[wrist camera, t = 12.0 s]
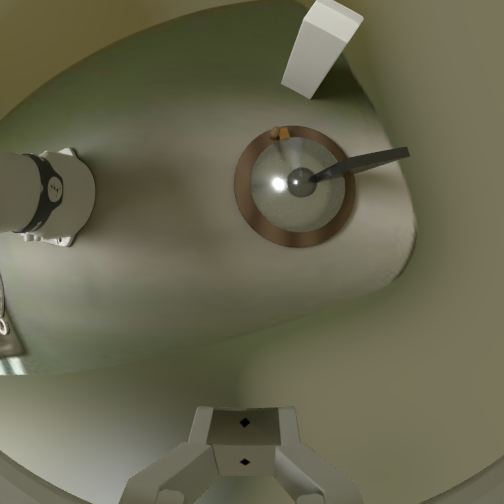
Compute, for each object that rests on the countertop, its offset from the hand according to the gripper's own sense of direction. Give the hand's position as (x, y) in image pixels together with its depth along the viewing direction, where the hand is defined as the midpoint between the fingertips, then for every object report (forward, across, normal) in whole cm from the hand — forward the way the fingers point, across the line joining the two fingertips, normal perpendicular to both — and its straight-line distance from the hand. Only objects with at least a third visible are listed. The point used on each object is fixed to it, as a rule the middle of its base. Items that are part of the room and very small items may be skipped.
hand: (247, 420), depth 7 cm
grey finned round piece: (+37, +8, +10) cm, 39 cm away
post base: (+39, +7, +8) cm, 40 cm away
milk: (+40, +9, +28) cm, 50 cm away
